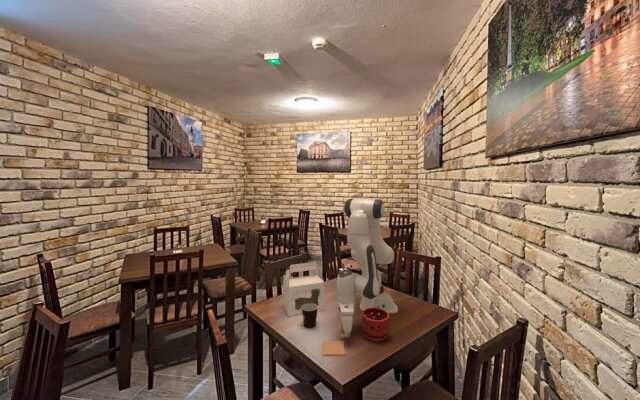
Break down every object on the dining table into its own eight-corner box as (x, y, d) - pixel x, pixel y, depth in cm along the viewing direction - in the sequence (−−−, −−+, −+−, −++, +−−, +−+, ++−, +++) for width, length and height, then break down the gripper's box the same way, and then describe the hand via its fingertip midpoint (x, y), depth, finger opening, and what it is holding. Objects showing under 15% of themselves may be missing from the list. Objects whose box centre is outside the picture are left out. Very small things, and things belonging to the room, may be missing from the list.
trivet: (343, 342, 136) (343, 341, 136) (345, 355, 126) (345, 354, 126) (322, 342, 135) (322, 341, 135) (322, 355, 125) (322, 354, 125)
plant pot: (356, 336, 141) (356, 313, 140) (372, 326, 150) (372, 304, 149) (379, 347, 132) (379, 322, 131) (394, 336, 141) (394, 313, 140)
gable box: (288, 316, 161) (287, 268, 159) (283, 307, 174) (282, 262, 171) (324, 310, 169) (324, 264, 167) (317, 301, 181) (317, 258, 179)
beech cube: (349, 332, 145) (349, 322, 145) (350, 337, 140) (350, 327, 140) (339, 332, 145) (339, 322, 145) (340, 337, 140) (340, 327, 140)
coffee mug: (302, 321, 156) (302, 303, 156) (318, 321, 156) (318, 303, 155) (300, 332, 145) (300, 313, 144) (317, 332, 144) (317, 313, 144)
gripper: (337, 295, 151) (337, 320, 152) (340, 313, 131) (340, 342, 132) (349, 295, 151) (348, 320, 152) (354, 313, 131) (354, 341, 132)
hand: (345, 330), depth 142 cm, fingers open, 8 cm apart
